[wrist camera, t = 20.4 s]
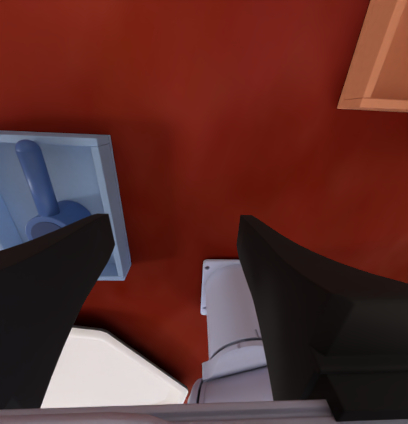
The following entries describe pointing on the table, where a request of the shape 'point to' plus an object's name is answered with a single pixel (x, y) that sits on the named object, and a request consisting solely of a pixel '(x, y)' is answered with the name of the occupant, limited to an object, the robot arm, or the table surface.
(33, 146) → the blue spoon
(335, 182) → the table surface
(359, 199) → the table surface
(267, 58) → the table surface
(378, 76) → the orange shallow tray
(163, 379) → the plate
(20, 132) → the blue tray
